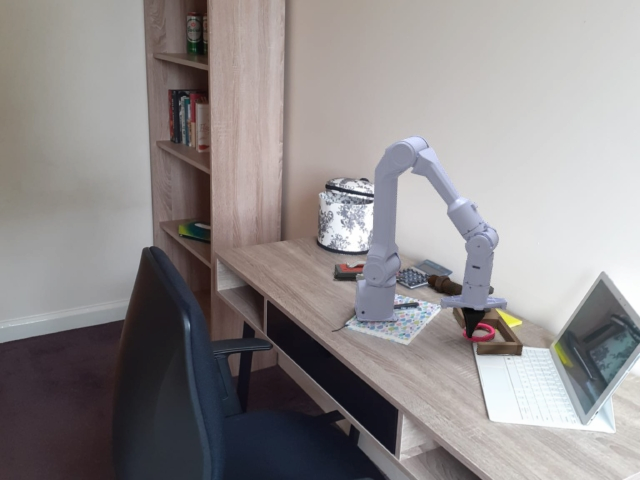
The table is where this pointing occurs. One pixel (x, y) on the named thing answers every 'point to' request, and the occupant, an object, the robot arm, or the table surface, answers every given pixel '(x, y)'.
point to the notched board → (498, 322)
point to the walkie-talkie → (351, 271)
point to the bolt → (444, 284)
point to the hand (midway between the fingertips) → (468, 336)
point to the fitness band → (484, 338)
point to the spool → (488, 295)
